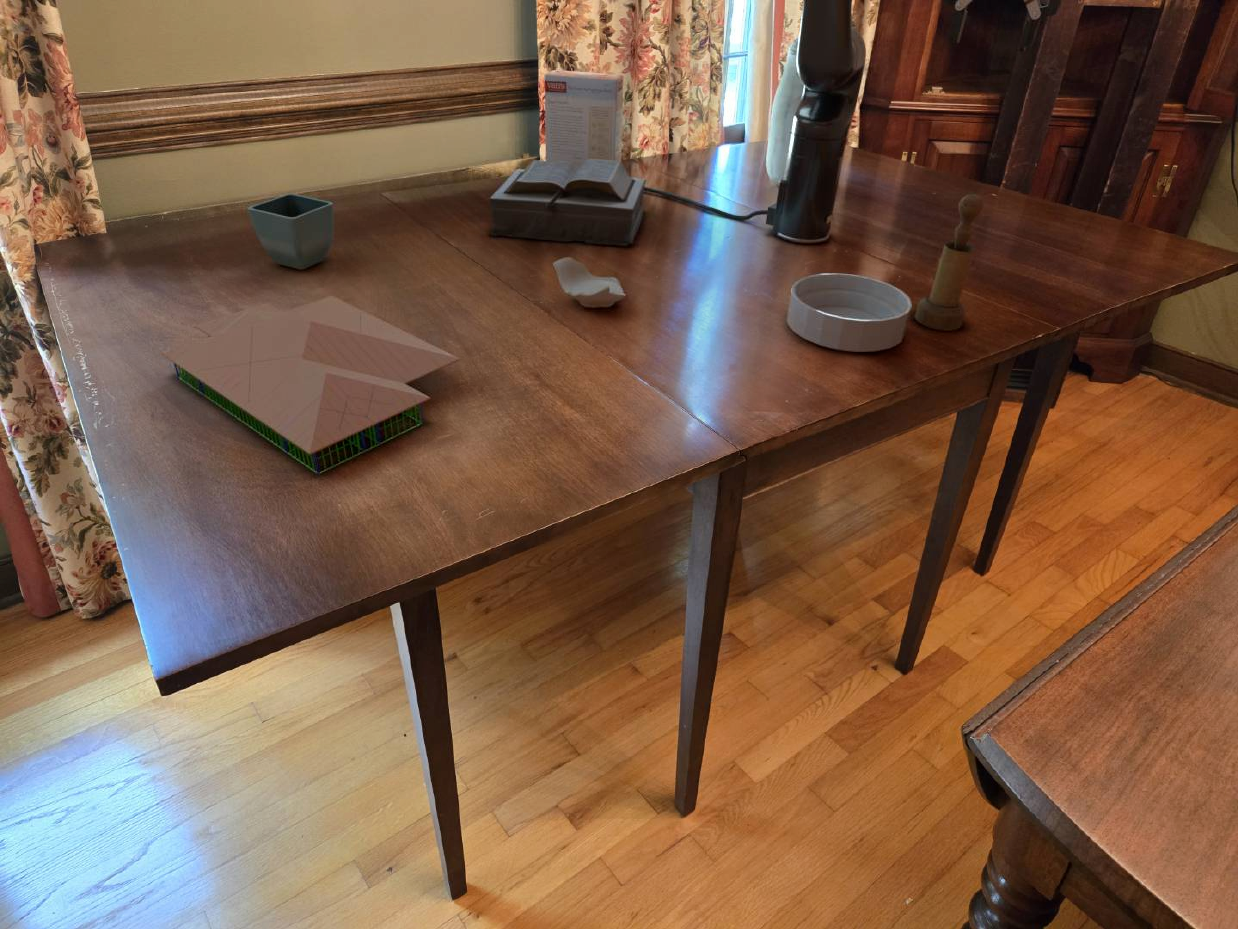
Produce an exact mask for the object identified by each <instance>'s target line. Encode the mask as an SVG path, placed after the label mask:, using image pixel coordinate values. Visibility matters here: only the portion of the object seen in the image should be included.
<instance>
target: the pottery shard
mask: <svg viewBox="0 0 1238 929" xmlns="http://www.w3.org/2000/svg"><path fill="white" fill-rule="evenodd" d="M552 266H553V267H554V269H555V271H556V274H557V277H558V281H559V285H560V286H561V288H562V290H563V291H564V293H566V295H568V296H569V297H570V298H571V299H574V300H576V301H578V303H579V304H580V305H581V306H582V307H585V308H593V309H595V308H610V307H612V306H613V305H614V304H615V302H618V301H621V300H622V299H624V298H626V297H627V295H626V293H624V290H623V288H622V285H621V284H620V281H619V280H618V279H617V278H616V277H613V276H607V277H606V276H605V277H602V276H596V275H593V274H591V273H590V271H589V270H588V269H587V267H586V265H584V264H583V263H580V262H579V261H577V260H575V259H574V258H573V257H570V256H568V257H563V258H561V259H558V260H555V261H554V262H553V263H552Z"/></svg>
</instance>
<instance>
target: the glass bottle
mask: <svg viewBox="0 0 1238 929" xmlns="http://www.w3.org/2000/svg"><path fill="white" fill-rule="evenodd" d="M798 40H799V36H798V37H797V38H796V39H794V41H792V43H791V44H790V46H789V49H788V51H787V57H786V62H785V65H784V69H783V72H782V76H781V79H780V82H779V84H778V86H777V89H776V92H775V95H774V98H773V102H772V108H771V116H770V123H769V132H768V133H769V134H768V139H767V148H766V157H765V166H766V171H767V175H768V177H769V179H770V181H771V182H772V183H773V184H775V185H777V186H779V183H780V180H781V179H782V178H784V174H785V168H786V161H787V154H788V148H789V141H790V134H791V127H792V121H793V116H794V114H795V112H796V110H797V108H798V106H799V103H800V101H801V98H802V94H803V89H804V84H803V83H802V81H801V80H800V78H799V75H798V72H797V65H796V57H797V47H798Z"/></svg>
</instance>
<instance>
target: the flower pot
mask: <svg viewBox="0 0 1238 929" xmlns="http://www.w3.org/2000/svg"><path fill="white" fill-rule="evenodd" d="M247 211H248V214H249V217H250V219H251V222H252V225H253V228H254V231H255V233H256V236H257V239H258V241H259V243H260V244H261V246H262V248H263V249H264V251H265V252H266V253H267V255H268V256H269V257H270V258H271V259H272V260H273V261H274V262H275V263H276V264H278V265H282V266H285V267H288V268H292V269H296V270H301V271H302V270H306V269H308V268H310V267H312V266H314V265H316V264H319V263H321V262H323V261H324V260H325V259H326V258H327V255H328V253H329V252H330V249H331V247H332V244H333V243H332V242H333V238H334V203H333V202H332V201H328V200H324V199H318V198H314V197H309V196H305V195H300V194H296V193H285V194H283V195H280V196H277V197H274V198H272V199H269V200H266V201H263V202H260V203H256V204H254V205H252V206H249V207H247Z"/></svg>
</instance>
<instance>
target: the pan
mask: <svg viewBox="0 0 1238 929" xmlns="http://www.w3.org/2000/svg"><path fill="white" fill-rule="evenodd" d="M912 309H913V304H912V300H911V297H910V296H908V295H907V294H906V293H905V291H903V290H901V289H899V287H896V286H894V285H892V284H891V283H888V282H885V281H882V280H879V279H876V278H873V277H868V276H864V275H859V274H852V273H851V274H849V273H840V272H839V273H838V272H834V273H827V272H826V273H817V274H812V275H811V274H810V275H807V276H804V277H802V278H799V279H797V280H796V281H795V282H794V284H792V286H791V290H790V296H789V302H788V307H787V314H786V323H787V325H788V327H789V328H790V329H791V331H793V332H794V333H795V334H797V335H798V336H799V337H801V338H803V339H804V340H806V341H809V342H811V343H814V344H816V345H819V346H821V347H825V348H829V349H832V350H837V351H842V352H843V351H844V352H852V353H853V352H854V353H855V352H856V353H863V352H879V351H884V350H888V349H891V348H894V347H895V346H897V345H899V344H900V343H902V341H903V339H904V337H905V336H906V332H907V328H908V325H909V320H910V316H911V312H912Z"/></svg>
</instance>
